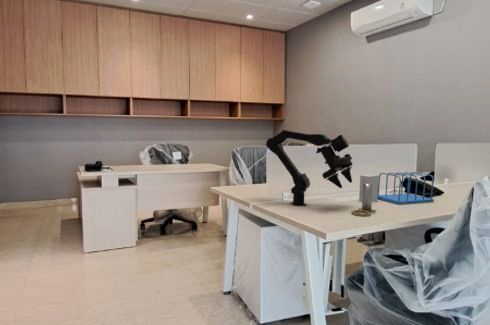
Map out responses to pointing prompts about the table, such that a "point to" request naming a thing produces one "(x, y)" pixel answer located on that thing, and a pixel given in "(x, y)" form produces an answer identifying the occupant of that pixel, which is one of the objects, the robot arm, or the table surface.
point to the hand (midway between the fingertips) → (346, 185)
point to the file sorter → (407, 197)
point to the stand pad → (371, 210)
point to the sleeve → (367, 197)
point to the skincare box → (373, 180)
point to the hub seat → (357, 212)
